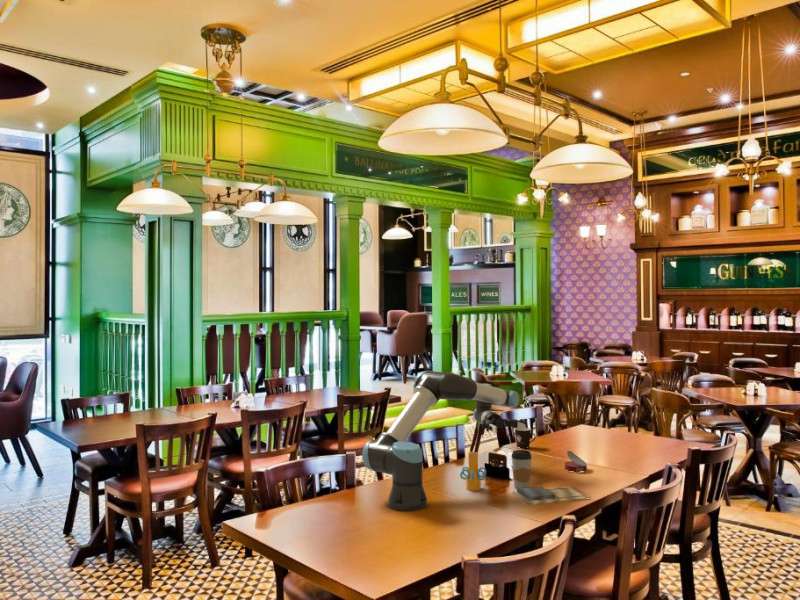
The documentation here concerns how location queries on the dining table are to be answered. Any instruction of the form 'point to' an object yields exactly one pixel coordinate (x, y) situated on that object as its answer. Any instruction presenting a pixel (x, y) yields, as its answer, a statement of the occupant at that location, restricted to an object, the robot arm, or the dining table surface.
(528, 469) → the coffee cup
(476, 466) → the orange box with loops
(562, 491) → the board
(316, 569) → the dining table surface
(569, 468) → the canned food
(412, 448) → the robot arm
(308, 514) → the dining table surface
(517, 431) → the coffee mug
